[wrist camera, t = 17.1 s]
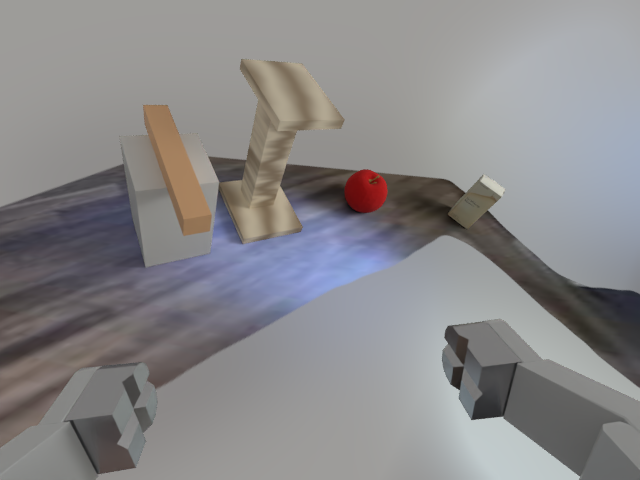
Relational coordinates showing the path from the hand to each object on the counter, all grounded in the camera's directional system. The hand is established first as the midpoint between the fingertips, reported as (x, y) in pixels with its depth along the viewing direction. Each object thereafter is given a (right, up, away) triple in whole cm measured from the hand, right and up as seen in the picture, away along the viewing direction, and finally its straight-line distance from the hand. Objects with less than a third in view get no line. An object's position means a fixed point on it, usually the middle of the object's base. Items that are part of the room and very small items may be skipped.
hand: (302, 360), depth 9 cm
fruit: (+9, +11, +68) cm, 70 cm away
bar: (-18, +12, +34) cm, 41 cm away
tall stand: (-11, +9, +58) cm, 60 cm away
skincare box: (+36, +9, +78) cm, 86 cm away
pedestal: (-25, +4, +48) cm, 54 cm away
